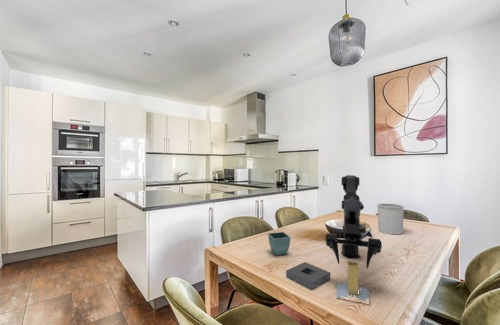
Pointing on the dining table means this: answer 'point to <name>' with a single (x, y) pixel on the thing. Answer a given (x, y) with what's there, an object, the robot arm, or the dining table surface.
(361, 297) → the rubber mat
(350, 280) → the brass peg
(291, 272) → the socket plate
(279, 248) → the flower pot
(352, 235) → the robot arm
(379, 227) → the utensil holder
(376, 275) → the dining table surface
